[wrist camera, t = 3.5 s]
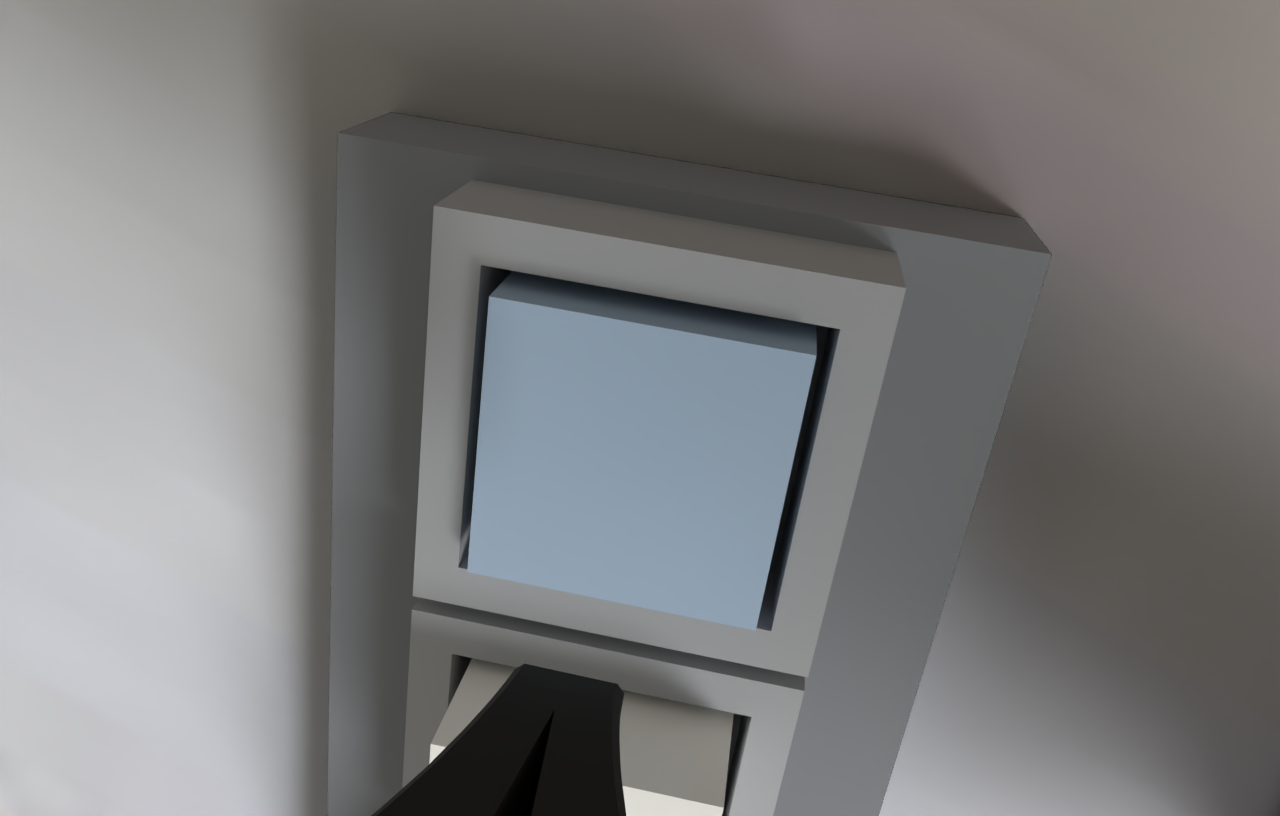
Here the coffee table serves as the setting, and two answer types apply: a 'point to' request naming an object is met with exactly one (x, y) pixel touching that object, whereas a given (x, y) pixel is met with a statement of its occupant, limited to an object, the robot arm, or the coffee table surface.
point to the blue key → (635, 446)
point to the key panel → (820, 476)
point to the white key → (631, 745)
